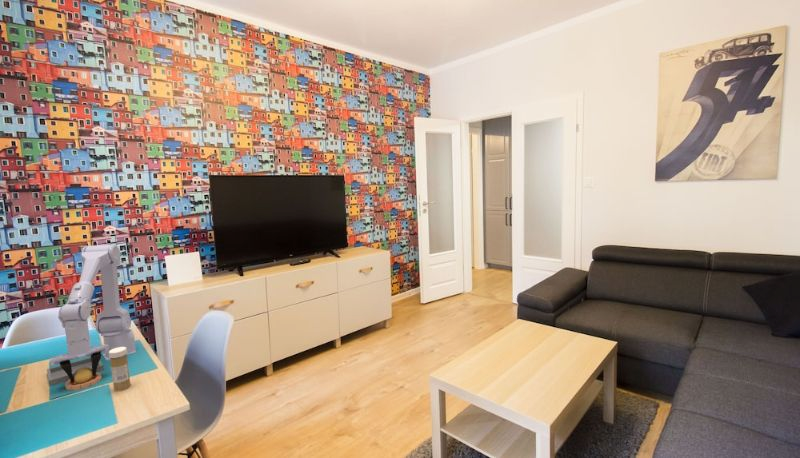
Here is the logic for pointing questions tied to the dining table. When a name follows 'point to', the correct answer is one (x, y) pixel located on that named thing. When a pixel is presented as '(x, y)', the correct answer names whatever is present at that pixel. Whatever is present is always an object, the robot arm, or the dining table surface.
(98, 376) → the copper shallow bowl
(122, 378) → the sprinkles bottle
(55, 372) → the tray
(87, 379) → the ball
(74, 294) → the robot arm
